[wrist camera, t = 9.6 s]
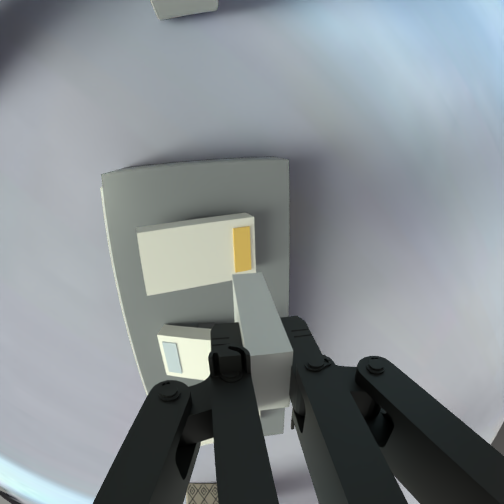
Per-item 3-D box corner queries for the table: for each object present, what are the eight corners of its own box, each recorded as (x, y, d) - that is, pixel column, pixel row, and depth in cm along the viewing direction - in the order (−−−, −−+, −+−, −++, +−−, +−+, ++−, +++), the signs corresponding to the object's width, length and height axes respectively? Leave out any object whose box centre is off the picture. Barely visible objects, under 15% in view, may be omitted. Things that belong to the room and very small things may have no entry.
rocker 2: (172, 364, 27) (166, 376, 25) (164, 324, 25) (156, 335, 23) (259, 373, 25) (257, 386, 24) (258, 331, 24) (255, 344, 22)
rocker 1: (145, 286, 22) (147, 296, 20) (136, 227, 20) (136, 234, 19) (248, 268, 24) (256, 276, 23) (245, 212, 23) (254, 217, 21)
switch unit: (166, 407, 36) (163, 447, 30) (119, 168, 26) (94, 176, 20) (276, 399, 38) (287, 437, 31) (276, 156, 28) (295, 160, 21)
